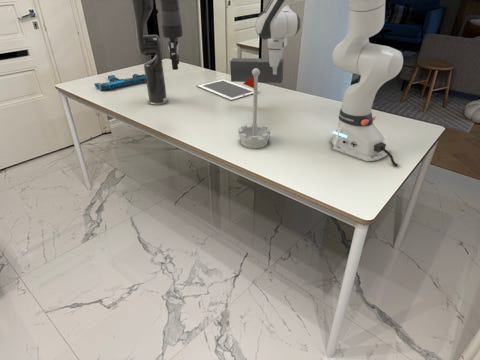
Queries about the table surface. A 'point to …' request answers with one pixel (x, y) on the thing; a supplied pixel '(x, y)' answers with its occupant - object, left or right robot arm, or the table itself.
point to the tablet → (227, 89)
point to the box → (244, 67)
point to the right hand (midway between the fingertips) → (275, 71)
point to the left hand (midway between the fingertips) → (175, 66)
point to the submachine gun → (120, 81)
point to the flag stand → (254, 121)
